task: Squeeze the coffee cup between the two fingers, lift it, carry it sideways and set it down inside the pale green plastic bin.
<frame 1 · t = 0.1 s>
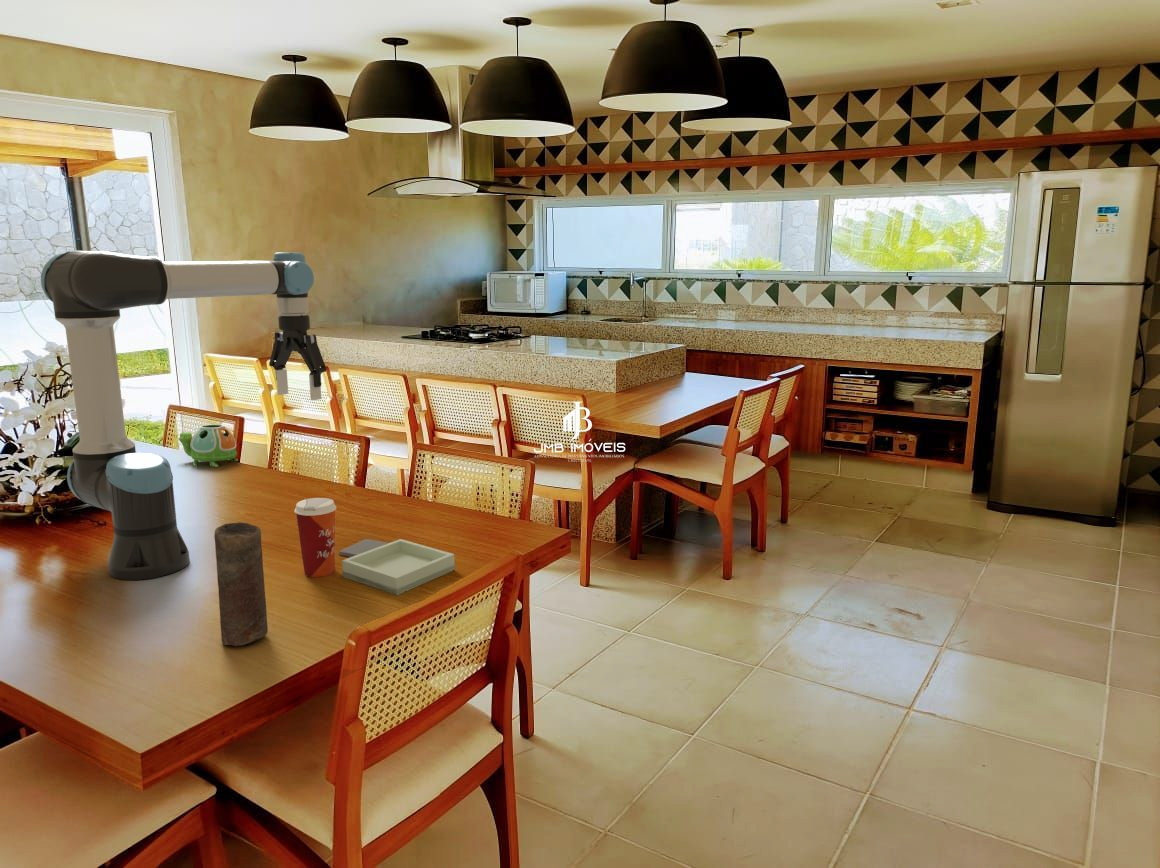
hand: (299, 397, 214), 28 cm above the table, fingers open, 13 cm apart
turtle holder: (210, 463, 259), on the table
grey brown tall cylinder: (246, 640, 141), on the table
bin: (399, 573, 171), on the table
slate coaster: (369, 551, 183), on the table
coffee cup: (319, 572, 171), on the table
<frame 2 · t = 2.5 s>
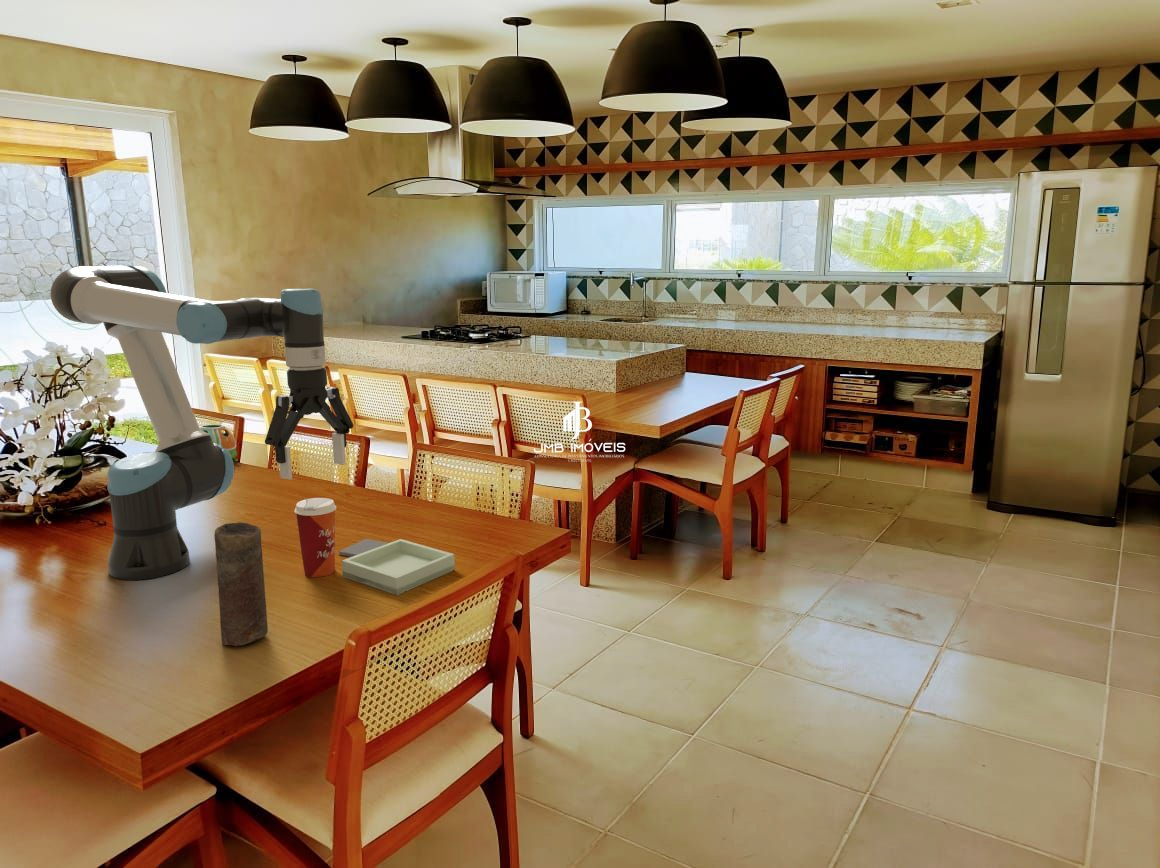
hand: (313, 471, 169), 21 cm above the table, fingers open, 13 cm apart
nothing on the table moved.
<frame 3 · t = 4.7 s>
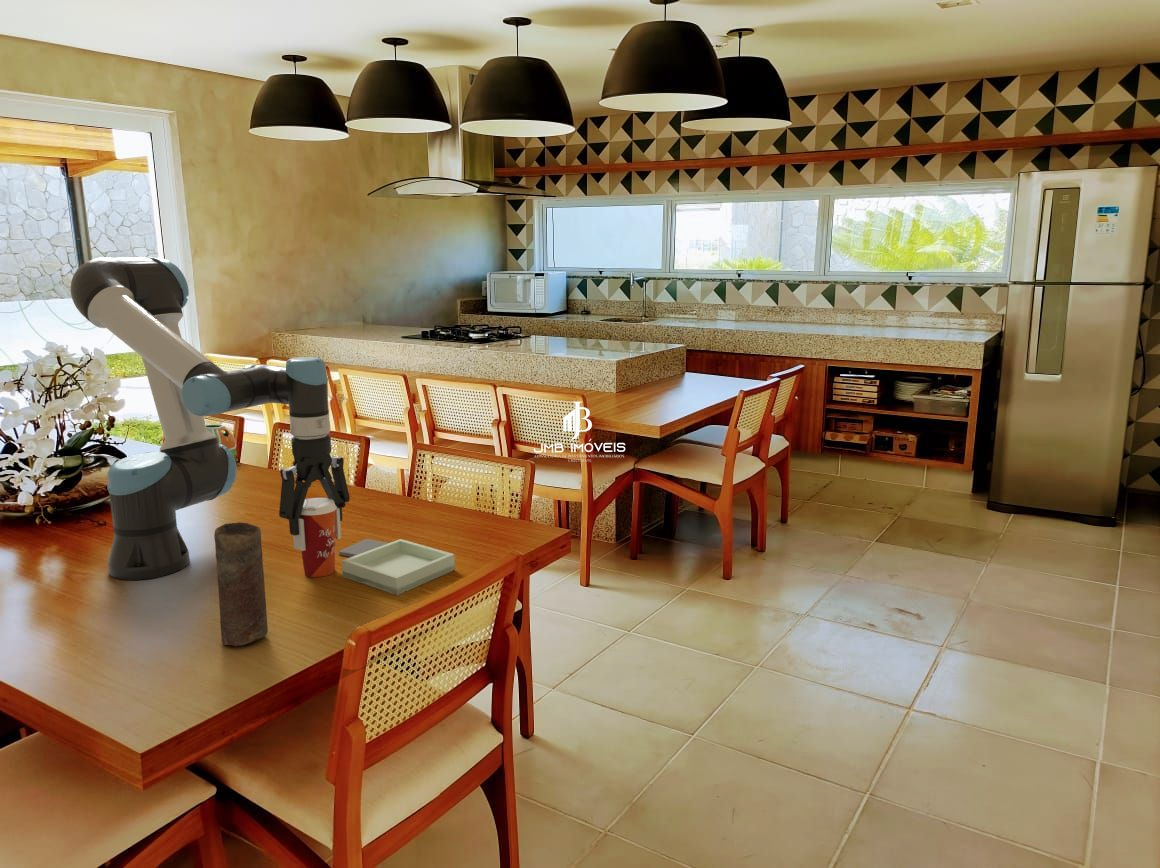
hand: (318, 542, 170), 6 cm above the table, fingers closed on coffee cup, 8 cm apart
coffee cup: (319, 572, 171), on the table, touching gripper
everything else where it was.
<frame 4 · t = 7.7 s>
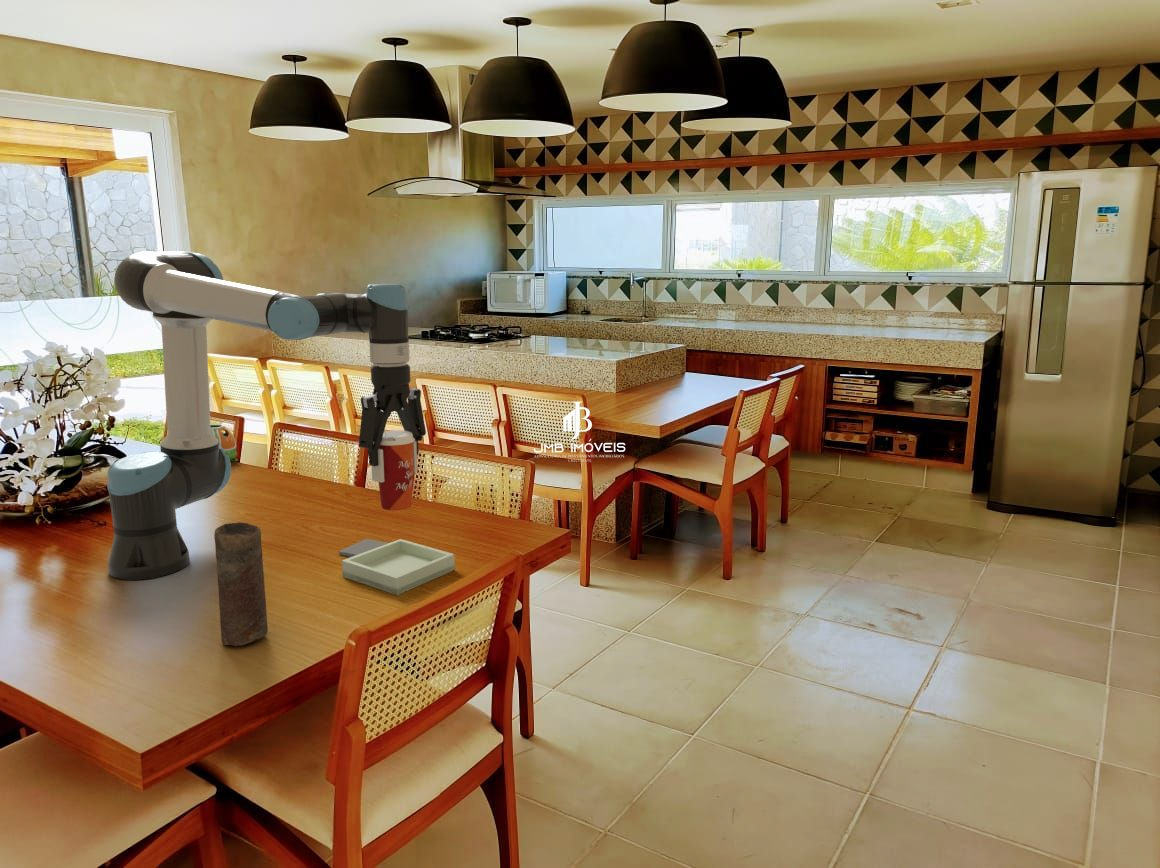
hand: (395, 476, 166), 21 cm above the table, fingers closed on coffee cup, 8 cm apart
coffee cup: (396, 506, 168), point 14 cm above the table, touching gripper
everything else where it was.
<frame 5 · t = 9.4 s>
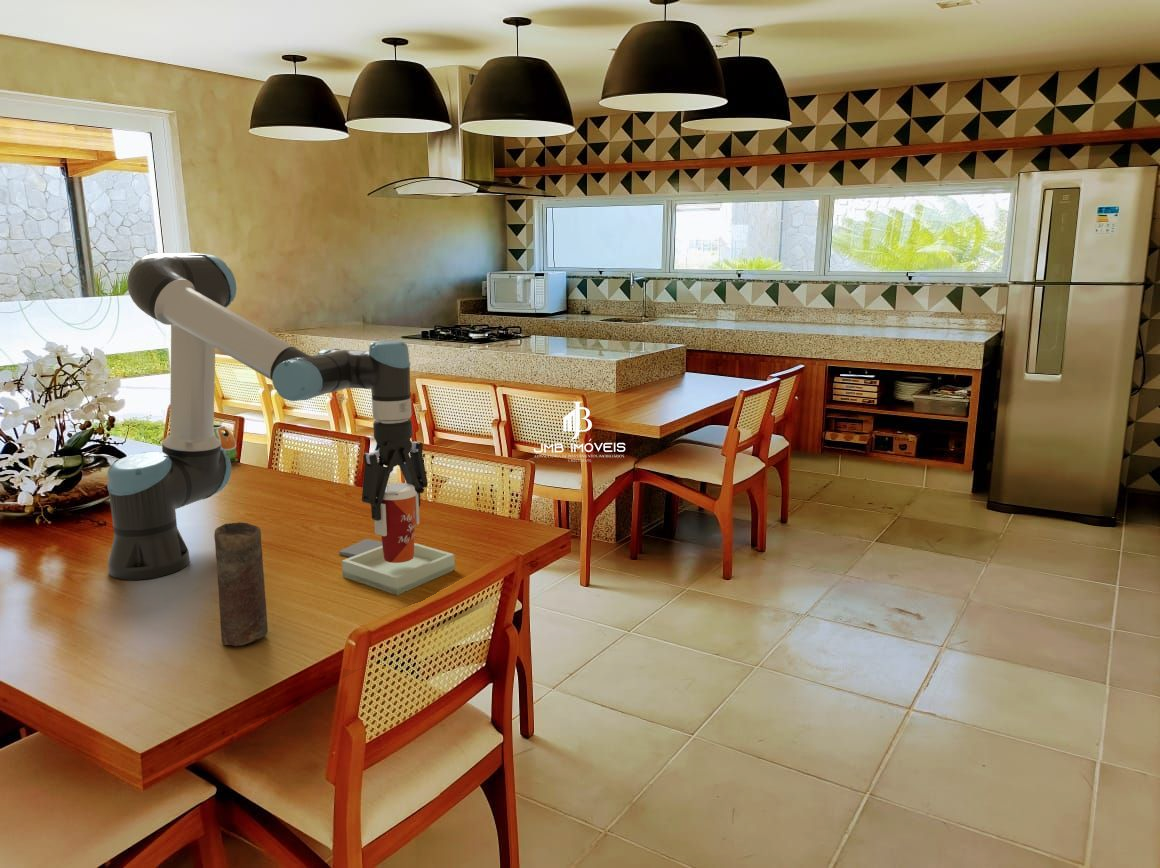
hand: (397, 528, 169), 10 cm above the table, fingers closed on coffee cup, 8 cm apart
coffee cup: (399, 558, 170), point 3 cm above the table, touching gripper
everything else where it was.
when the fingers open (8 cm above the table, at t = 11.0 s): coffee cup stays where it is, resting on bin.
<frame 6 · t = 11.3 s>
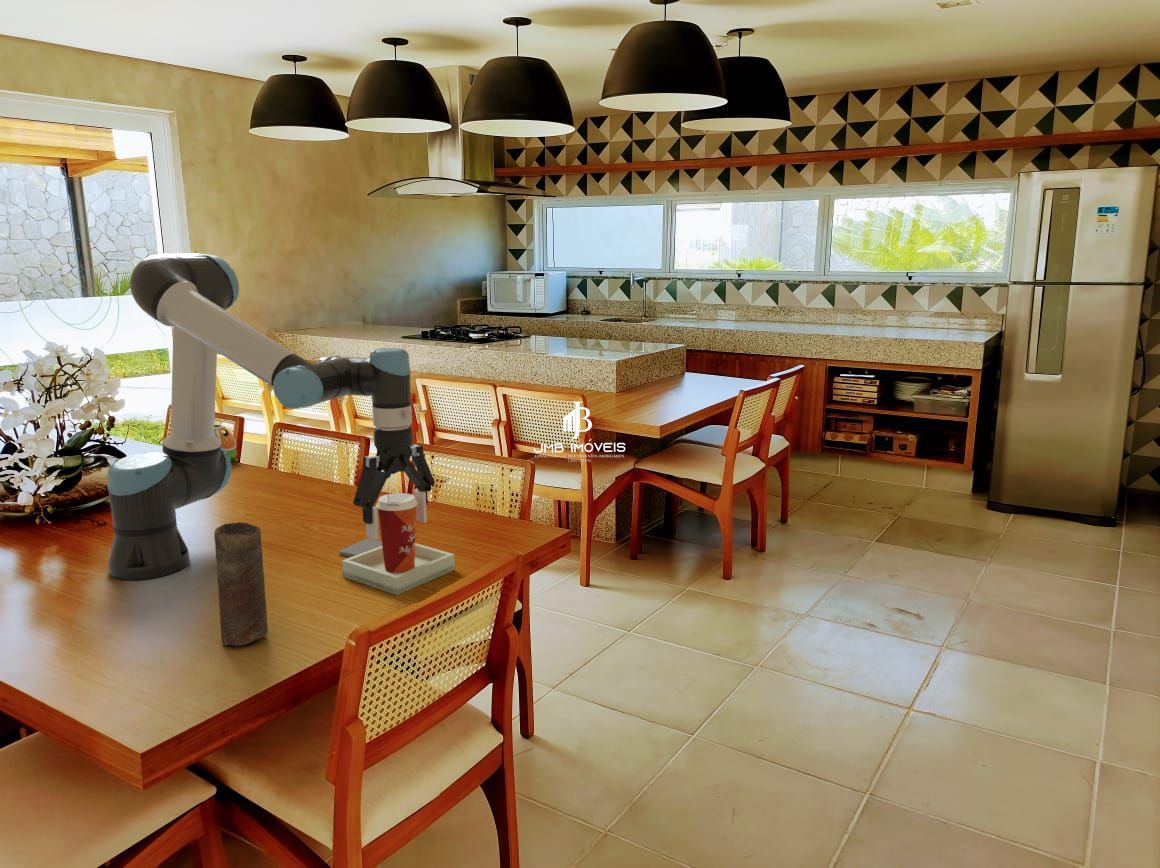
hand: (397, 529, 169), 10 cm above the table, fingers open, 12 cm apart
coffee cup: (399, 568, 171), point 1 cm above the table, touching bin
everything else where it was.
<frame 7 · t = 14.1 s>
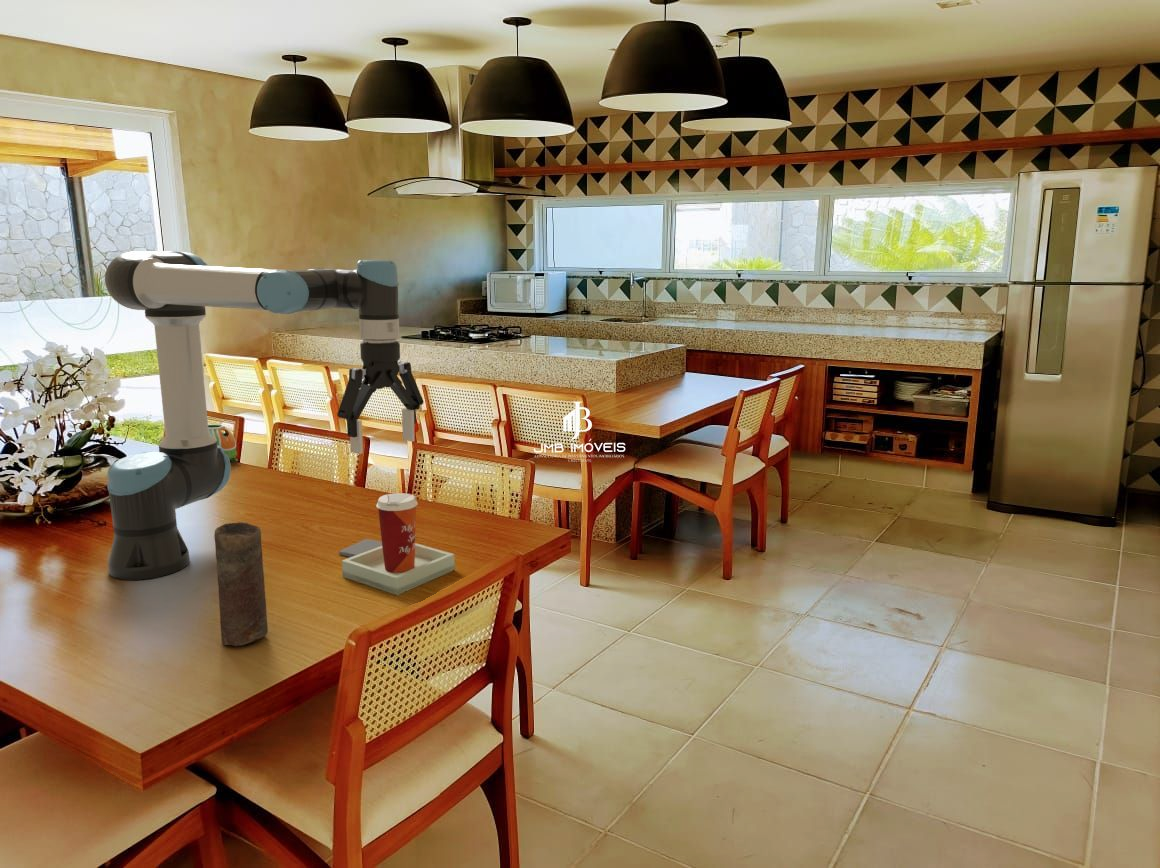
hand: (383, 446, 166), 27 cm above the table, fingers open, 13 cm apart
nothing on the table moved.
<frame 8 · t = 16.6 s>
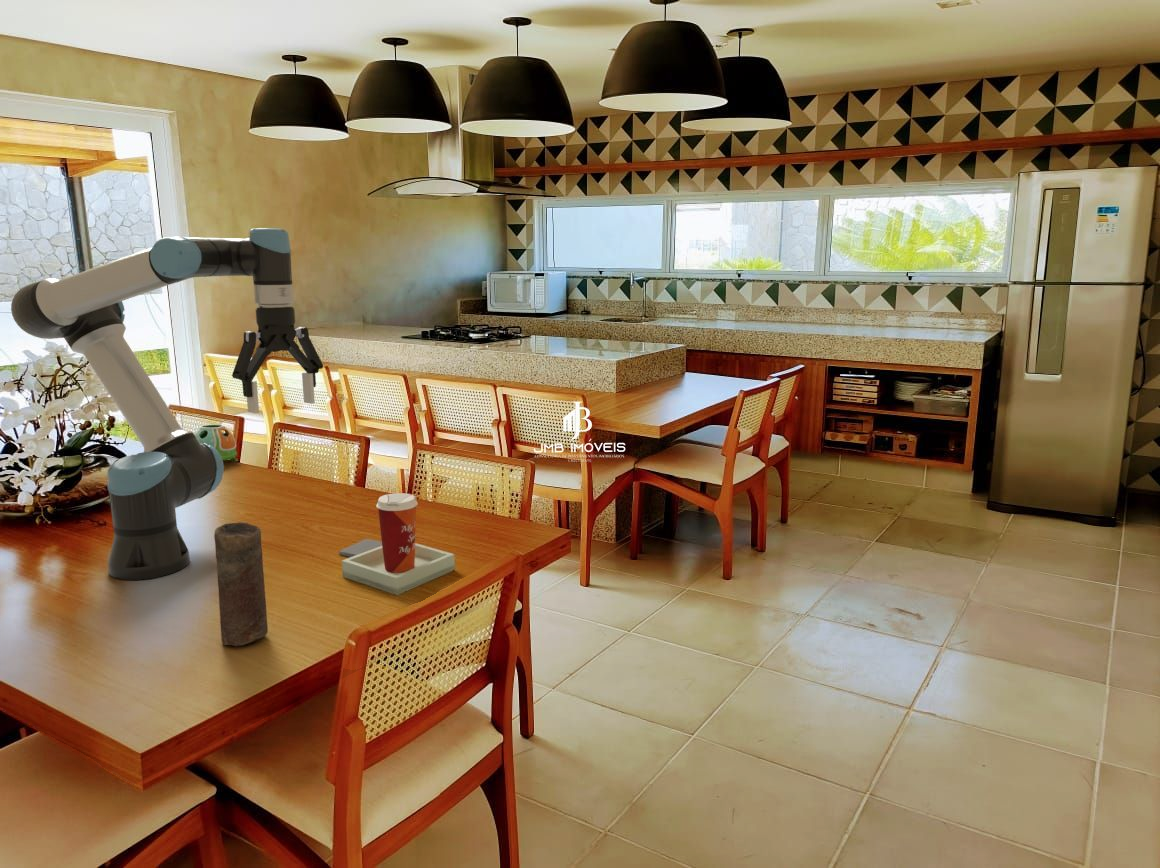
hand: (282, 407, 174), 33 cm above the table, fingers open, 13 cm apart
nothing on the table moved.
at the end: coffee cup inside the target area on the bin (0.2 cm from its centre), point 1.0 cm above the bin's base; coffee cup tilted 0°; the gripper is holding nothing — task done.
